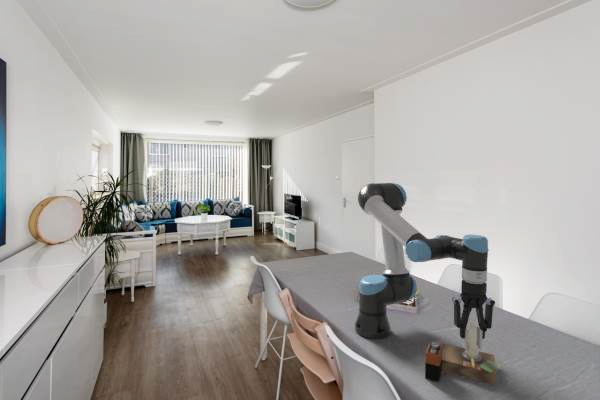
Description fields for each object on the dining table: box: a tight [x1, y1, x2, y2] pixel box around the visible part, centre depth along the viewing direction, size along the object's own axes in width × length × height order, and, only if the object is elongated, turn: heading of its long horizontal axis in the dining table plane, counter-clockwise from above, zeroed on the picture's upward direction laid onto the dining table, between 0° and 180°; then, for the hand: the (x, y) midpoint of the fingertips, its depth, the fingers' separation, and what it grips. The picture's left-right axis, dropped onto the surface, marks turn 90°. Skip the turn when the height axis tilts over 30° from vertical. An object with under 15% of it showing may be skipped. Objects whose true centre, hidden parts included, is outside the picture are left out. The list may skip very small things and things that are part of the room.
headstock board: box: [431, 341, 501, 386], centre depth 111 cm, size 21×13×4 cm, turn 62°
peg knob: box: [462, 319, 482, 368], centre depth 108 cm, size 6×10×12 cm, turn 156°
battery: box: [424, 342, 443, 383], centre depth 106 cm, size 4×7×10 cm, turn 149°
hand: (471, 346), depth 110 cm, fingers closed on peg knob, 4 cm apart
